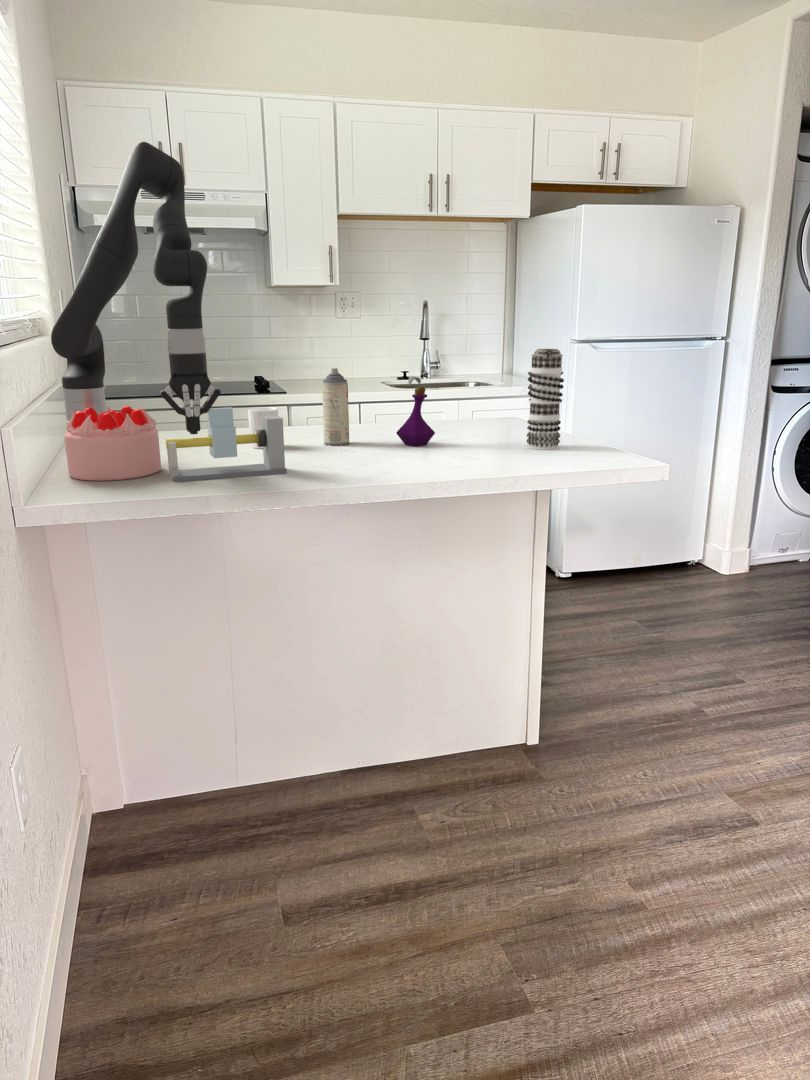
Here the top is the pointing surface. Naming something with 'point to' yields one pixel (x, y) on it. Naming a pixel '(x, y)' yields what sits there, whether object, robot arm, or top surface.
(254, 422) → the white cup
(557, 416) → the decorative candle
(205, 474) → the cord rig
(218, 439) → the sleeve
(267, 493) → the top surface
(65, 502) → the top surface
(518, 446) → the top surface
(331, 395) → the aerosol can
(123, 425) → the cake
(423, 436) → the perfume bottle
